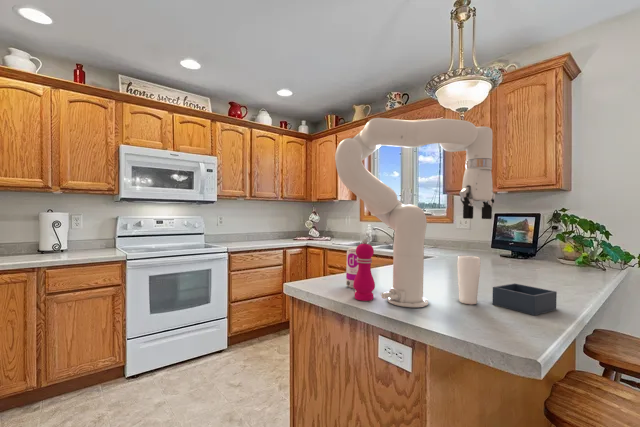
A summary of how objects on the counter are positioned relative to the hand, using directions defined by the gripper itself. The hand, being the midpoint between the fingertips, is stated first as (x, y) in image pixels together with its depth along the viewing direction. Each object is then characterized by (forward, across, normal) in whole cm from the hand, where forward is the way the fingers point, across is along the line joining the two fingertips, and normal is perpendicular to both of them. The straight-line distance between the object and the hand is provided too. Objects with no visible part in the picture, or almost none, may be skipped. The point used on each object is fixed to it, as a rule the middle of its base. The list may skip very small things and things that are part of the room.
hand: (477, 218), depth 102 cm
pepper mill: (+28, +29, -21) cm, 46 cm away
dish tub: (+28, -10, +9) cm, 31 cm away
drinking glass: (+28, +2, -2) cm, 28 cm away
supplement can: (+28, +21, -36) cm, 50 cm away
